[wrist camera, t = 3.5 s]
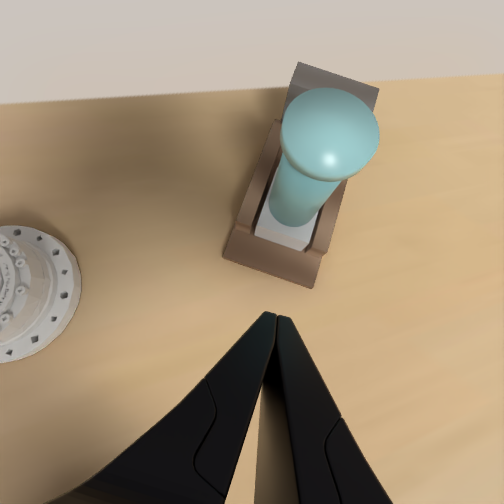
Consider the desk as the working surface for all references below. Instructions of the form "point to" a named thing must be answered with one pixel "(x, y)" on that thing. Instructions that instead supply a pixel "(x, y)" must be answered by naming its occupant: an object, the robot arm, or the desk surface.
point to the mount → (242, 237)
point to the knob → (315, 161)
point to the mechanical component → (34, 290)
